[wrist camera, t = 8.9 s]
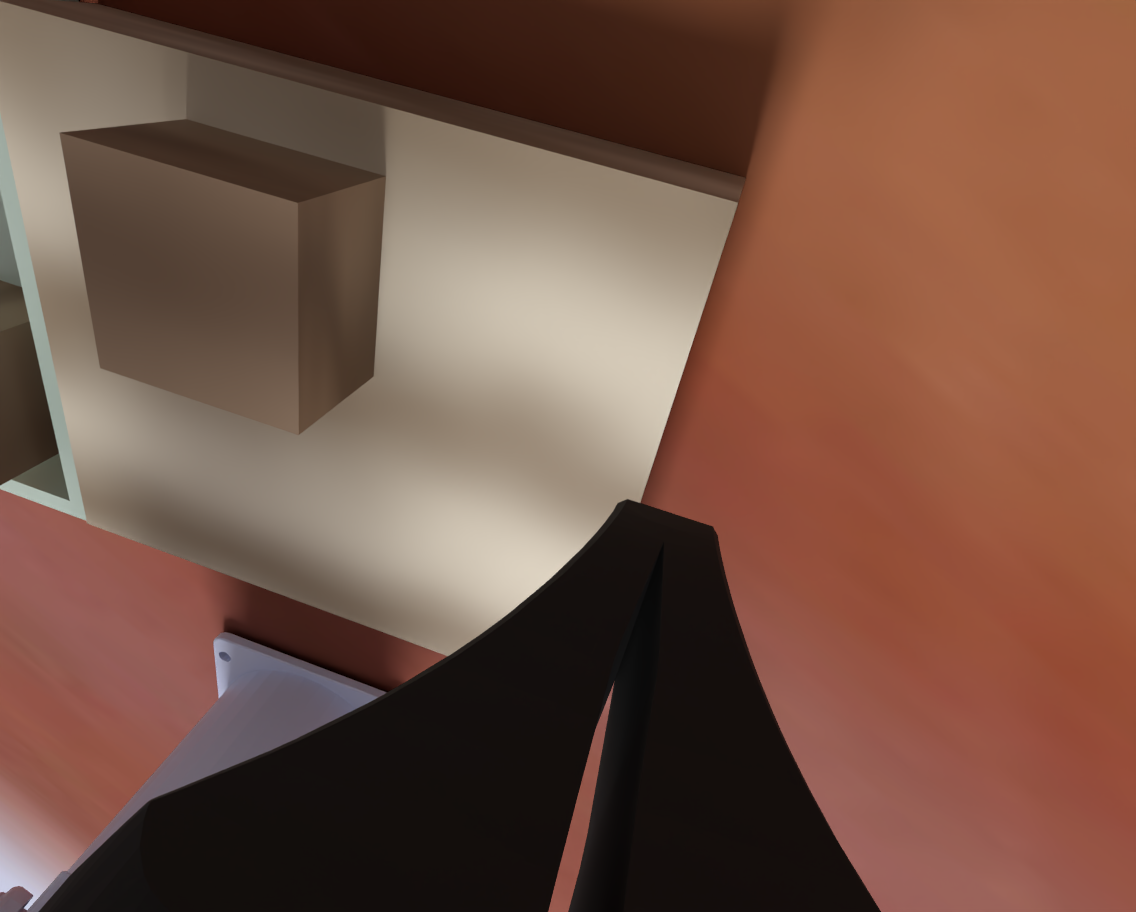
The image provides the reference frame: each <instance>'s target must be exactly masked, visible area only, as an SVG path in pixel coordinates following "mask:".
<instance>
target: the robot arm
mask: <svg viewBox="0 0 1136 912" xmlns="http://www.w3.org/2000/svg"><path fill="white" fill-rule="evenodd" d="M213 644H214V654H215V664H216V674H217V684H218V694H219V699H218V700H217V701H216V702H215V704H214V705H213V706H212V707H211V708H210V709H209V710H208V712H207V713H206V714H205V715H204V716H203V717H202V718H201V720H200V721H199V722H198V723H197V724H196V725H195V726H194V728H193V729H192V730H191V731H190V732H189V733H188V734H187V735H186V737H185V738H184V739H183V740H182V741H181V742H180V743H179V745H178V746H177V747H176V748H175V749H174V750H173V751H172V753H171V754H170V755H169V756H168V757H167V758H166V759H165V761H164V762H163V763H162V764H161V765H160V766H159V767H158V768H157V770H156V771H155V772H154V773H153V774H152V775H151V776H150V778H149V779H148V780H147V781H146V782H145V783H144V784H143V786H142V787H141V788H140V789H139V790H138V791H137V792H136V794H135V795H134V796H133V797H132V798H131V799H130V800H129V801H128V803H127V804H126V805H125V806H124V807H123V808H122V809H121V811H120V812H119V813H118V814H117V815H116V816H115V817H114V819H113V820H112V821H111V822H110V823H109V824H108V825H107V827H106V828H105V829H104V830H103V831H102V832H101V833H100V835H99V836H98V837H97V838H96V839H95V840H94V841H93V842H92V844H91V845H90V846H89V847H88V848H87V849H86V850H85V852H84V853H83V854H82V855H81V856H80V857H79V858H78V860H77V861H76V862H75V863H74V864H73V865H72V866H71V868H70V869H69V870H68V871H64V872H63V871H62V872H61V873H60V874H59V875H58V876H57V878H56V879H55V880H54V881H53V882H52V883H51V884H50V886H49V887H48V888H47V889H46V890H45V891H44V892H43V893H42V895H41V896H40V897H39V898H38V899H37V900H36V901H35V902H34V904H33V905H32V906H31V907H30V908H29V909H28V910H25V909H24V907H25V906H26V905H27V903H28V902H29V901H30V900H31V899H32V897H33V895H32V894H31V893H30V892H28V891H27V890H26V889H24V888H23V887H20V886H17V887H13V888H12V889H10V890H9V891H8V892H7V893H4V892H1V893H0V912H548V910H549V906H550V902H551V898H552V894H553V890H554V886H555V882H556V878H557V874H558V870H559V866H560V862H561V858H562V855H563V851H564V847H565V843H566V839H567V835H568V831H569V827H570V824H571V820H572V816H573V812H574V808H575V804H576V800H577V796H578V793H579V789H580V785H581V781H582V777H583V773H584V770H585V766H586V762H587V758H588V755H589V751H590V747H591V743H592V739H593V736H594V732H595V729H596V726H597V724H598V721H599V719H600V716H601V714H602V711H603V709H604V706H605V704H606V701H607V698H608V696H609V693H610V691H611V688H612V686H613V683H614V688H613V693H612V699H611V704H610V710H609V715H608V721H607V727H606V732H605V738H604V744H603V749H602V755H601V761H600V766H599V772H598V778H597V783H596V789H595V795H594V800H593V806H592V812H591V817H590V823H589V829H588V834H587V839H586V843H585V848H584V852H583V857H582V862H581V866H580V870H579V874H578V878H577V881H576V885H575V889H574V893H573V896H572V900H571V904H570V908H569V911H568V912H881V911H880V909H879V908H878V906H877V905H876V903H875V901H874V900H873V898H872V896H871V895H870V893H869V892H868V890H867V888H866V887H865V885H864V883H863V882H862V880H861V879H860V877H859V875H858V874H857V872H856V870H855V869H854V867H853V865H852V864H851V862H850V861H849V859H848V857H847V856H846V854H845V852H844V851H843V849H842V848H841V846H840V844H839V843H838V841H837V839H836V837H835V836H834V834H833V832H832V830H831V828H830V826H829V825H828V823H827V821H826V819H825V817H824V815H823V814H822V812H821V810H820V808H819V806H818V804H817V802H816V801H815V799H814V797H813V795H812V793H811V791H810V790H809V788H808V786H807V784H806V782H805V780H804V778H803V776H802V774H801V772H800V770H799V768H798V765H797V763H796V761H795V759H794V757H793V755H792V753H791V751H790V749H789V747H788V745H787V743H786V741H785V739H784V736H783V734H782V732H781V730H780V728H779V725H778V723H777V721H776V718H775V716H774V714H773V712H772V709H771V707H770V704H769V702H768V699H767V697H766V694H765V692H764V690H763V687H762V685H761V682H760V680H759V677H758V675H757V672H756V669H755V667H754V664H753V661H752V659H751V656H750V653H749V650H748V647H747V644H746V641H745V638H744V635H743V632H742V629H741V626H740V623H739V620H738V617H737V614H736V611H735V607H734V604H733V601H732V597H731V594H730V590H729V586H728V582H727V579H726V575H725V571H724V566H723V562H722V557H721V552H720V547H719V541H718V536H717V534H716V532H715V530H714V528H713V527H712V526H709V525H706V524H703V523H700V522H697V521H694V520H691V519H688V518H685V517H682V516H678V515H675V514H672V513H669V512H666V511H663V510H660V509H657V508H654V507H651V506H648V505H645V504H642V503H638V502H635V501H632V500H629V499H626V500H624V501H621V502H619V503H617V505H616V507H615V509H614V510H613V512H612V513H611V515H610V516H609V517H608V519H607V520H606V521H605V523H604V524H603V525H602V526H601V528H600V529H599V530H598V531H597V532H596V533H595V534H594V536H593V537H592V538H591V539H590V540H589V541H588V542H587V543H586V544H585V545H584V547H583V548H582V549H581V550H580V551H579V552H577V553H576V554H575V555H574V556H573V557H572V558H571V559H570V560H569V561H568V562H567V563H566V564H565V565H564V566H563V567H562V568H561V569H560V570H559V571H558V572H557V573H556V574H555V575H554V576H553V577H551V578H550V579H549V580H548V581H547V582H546V583H545V584H544V585H542V586H541V587H540V588H539V589H538V590H536V591H535V592H534V593H533V594H531V595H530V596H529V597H528V598H527V599H525V600H524V601H523V602H522V603H521V604H519V605H518V606H517V607H516V608H515V609H513V610H512V611H511V612H510V613H508V614H507V615H506V616H505V617H503V618H502V619H501V620H499V621H498V622H497V623H495V624H494V625H493V626H491V627H490V628H488V629H487V630H486V631H484V632H483V633H482V634H480V635H479V636H477V637H476V638H474V639H473V640H471V641H470V642H468V643H467V644H466V645H464V646H463V647H461V648H460V649H458V650H457V651H455V652H454V653H452V654H451V655H449V656H448V657H446V658H444V659H443V660H441V661H439V662H438V663H436V664H435V665H433V666H431V667H430V668H428V669H426V670H425V671H423V672H421V673H420V674H418V675H416V676H415V677H413V678H412V679H410V680H408V681H407V682H405V683H403V684H401V685H400V686H398V687H396V688H394V689H393V690H391V691H389V692H384V691H382V690H379V689H376V688H374V687H371V686H368V685H366V684H363V683H361V682H358V681H355V680H353V679H350V678H347V677H345V676H342V675H339V674H337V673H334V672H331V671H329V670H326V669H324V668H321V667H318V666H316V665H313V664H310V663H308V662H305V661H302V660H300V659H297V658H295V657H292V656H289V655H287V654H284V653H281V652H279V651H276V650H273V649H271V648H268V647H265V646H263V645H260V644H258V643H255V642H252V641H250V640H247V639H244V638H242V637H239V636H236V635H234V634H231V633H227V632H222V633H220V634H219V635H218V636H217V637H216V638H215V639H214V642H213ZM614 681H615V682H614Z"/></svg>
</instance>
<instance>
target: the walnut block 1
mask: <svg viewBox="0 0 1136 912" xmlns="http://www.w3.org/2000/svg"><path fill="white" fill-rule="evenodd" d="M57 454H59V450H58V446H57V441H56V437H55V433H54V428H53V424H52V419H51V415H50V410H49V406H48V401H47V397H46V392H45V388H44V383H43V379H42V374H41V370H40V366H39V361H38V357H37V352H36V348H35V343H34V339H33V334H32V330H31V325H30V321H29V316H28V312H27V308H26V303H25V299H24V294H23V290H22V287H19V286H16V285H13V284H10V283H7V282H4V281H1V280H0V485H2V484H4V483H6V482H8V481H10V480H11V479H13V478H15V477H17V476H19V475H20V474H22V473H24V472H26V471H28V470H30V469H31V468H33V467H35V466H37V465H39V464H40V463H42V462H44V461H46V460H48V459H50V458H51V457H53V456H55V455H57Z"/></svg>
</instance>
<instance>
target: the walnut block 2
mask: <svg viewBox="0 0 1136 912" xmlns="http://www.w3.org/2000/svg"><path fill="white" fill-rule="evenodd" d="M59 134H60V139H61V145H62V151H63V157H64V163H65V168H66V174H67V180H68V186H69V192H70V197H71V203H72V209H73V215H74V220H75V226H76V232H77V238H78V244H79V249H80V255H81V261H82V267H83V273H84V278H85V284H86V290H87V296H88V302H89V307H90V313H91V319H92V325H93V330H94V336H95V342H96V348H97V354H98V359H99V365H100V368H101V369H104V370H107V371H110V372H113V373H116V374H119V375H122V376H125V377H128V378H131V379H134V380H136V381H139V382H142V383H145V384H148V385H151V386H154V387H157V388H160V389H163V390H166V391H169V392H172V393H175V394H178V395H181V396H184V397H187V398H190V399H193V400H196V401H199V402H202V403H205V404H208V405H210V406H213V407H216V408H219V409H222V410H225V411H228V412H231V413H234V414H237V415H240V416H243V417H246V418H249V419H252V420H255V421H258V422H261V423H264V424H267V425H270V426H273V427H276V428H279V429H282V430H285V431H287V432H290V433H293V434H296V435H300V434H301V433H302V432H303V431H305V430H306V429H307V428H309V427H310V426H311V425H312V424H314V423H315V422H316V421H318V420H319V419H320V418H321V417H323V416H324V415H325V414H326V413H328V412H329V411H330V410H332V409H333V408H334V407H335V406H337V405H338V404H339V403H341V402H342V401H343V400H344V399H346V398H347V397H348V396H349V395H351V394H352V393H353V392H355V391H356V390H357V389H358V388H360V387H361V386H362V385H364V384H365V383H366V382H367V381H369V380H370V379H371V378H372V377H374V363H375V347H376V331H377V314H378V298H379V282H380V266H381V250H382V234H383V217H384V201H385V185H386V176H384V175H380V174H377V173H373V172H370V171H366V170H363V169H359V168H356V167H352V166H349V165H345V164H342V163H338V162H335V161H331V160H328V159H324V158H321V157H317V156H314V155H310V154H307V153H303V152H300V151H296V150H293V149H289V148H285V147H282V146H278V145H275V144H271V143H268V142H264V141H261V140H257V139H254V138H250V137H247V136H243V135H240V134H236V133H233V132H229V131H226V130H222V129H219V128H215V127H212V126H208V125H205V124H201V123H198V122H194V121H191V120H187V119H182V120H172V121H163V122H154V123H144V124H135V125H125V126H116V127H107V128H97V129H88V130H79V131H69V132H60V133H59Z"/></svg>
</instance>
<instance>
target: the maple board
mask: <svg viewBox="0 0 1136 912" xmlns="http://www.w3.org/2000/svg"><path fill="white" fill-rule="evenodd" d="M0 114H1V119H2V123H3V128H4V133H5V138H6V142H7V147H8V152H9V156H10V161H11V166H12V171H13V175H14V180H15V185H16V189H17V194H18V199H19V204H20V208H21V213H22V218H23V223H24V227H25V232H26V237H27V241H28V246H29V251H30V256H31V260H32V265H33V270H34V274H35V279H36V284H37V289H38V293H39V298H40V303H41V308H42V312H43V317H44V322H45V326H46V331H47V336H48V341H49V345H50V350H51V355H52V359H53V364H54V369H55V374H56V378H57V383H58V388H59V393H60V397H61V402H62V407H63V411H64V416H65V421H66V426H67V430H68V435H69V440H70V444H71V449H72V454H73V459H74V463H75V468H76V473H77V477H78V482H79V487H80V492H81V496H82V501H83V506H84V511H85V515H86V520H87V523H88V524H90V525H93V526H96V527H98V528H101V529H104V530H107V531H109V532H112V533H115V534H117V535H120V536H123V537H126V538H128V539H131V540H134V541H136V542H139V543H142V544H145V545H147V546H150V547H153V548H156V549H158V550H161V551H164V552H166V553H169V554H172V555H175V556H177V557H180V558H183V559H185V560H188V561H191V562H194V563H196V564H199V565H202V566H204V567H207V568H210V569H213V570H215V571H218V572H221V573H223V574H226V575H229V576H232V577H234V578H237V579H240V580H242V581H245V582H248V583H251V584H253V585H256V586H259V587H261V588H264V589H267V590H270V591H272V592H275V593H278V594H280V595H283V596H286V597H289V598H291V599H294V600H297V601H299V602H302V603H305V604H308V605H310V606H313V607H316V608H318V609H321V610H324V611H327V612H329V613H332V614H335V615H337V616H340V617H343V618H346V619H348V620H351V621H354V622H357V623H359V624H362V625H365V626H367V627H370V628H373V629H376V630H378V631H381V632H384V633H386V634H389V635H392V636H395V637H397V638H400V639H403V640H405V641H408V642H411V643H414V644H416V645H419V646H422V647H424V648H427V649H430V650H433V651H435V652H438V653H441V654H443V655H446V656H449V655H451V654H452V653H454V652H455V651H457V650H458V649H460V648H461V647H463V646H464V645H466V644H467V643H468V642H470V641H471V640H473V639H474V638H476V637H477V636H479V635H480V634H482V633H483V632H484V631H486V630H487V629H488V628H490V627H491V626H493V625H494V624H495V623H497V622H498V621H499V620H501V619H502V618H503V617H505V616H506V615H507V614H508V613H510V612H511V611H512V610H513V609H515V608H516V607H517V606H518V605H519V604H521V603H522V602H523V601H524V600H525V599H527V598H528V597H529V596H530V595H531V594H533V593H534V592H535V591H536V590H538V589H539V588H540V587H541V586H542V585H544V584H545V583H546V582H547V581H548V580H549V579H550V578H551V577H553V576H554V575H555V574H556V573H557V572H558V571H559V570H560V569H561V568H562V567H563V566H564V565H565V564H566V563H567V562H568V561H569V560H570V559H571V558H572V557H573V556H574V555H575V554H576V553H577V552H579V551H580V550H581V549H582V548H583V547H584V545H585V544H586V543H587V542H588V541H589V540H590V539H591V538H592V537H593V536H594V534H595V533H596V532H597V531H598V530H599V529H600V528H601V526H602V525H603V524H604V523H605V521H606V520H607V519H608V517H609V516H610V515H611V513H612V512H613V510H614V509H615V507H616V505H617V503H619V502H621V501H624V500H626V499H629V500H632V501H635V502H638V503H640V502H641V499H642V496H643V492H644V489H645V486H646V483H647V480H648V477H649V474H650V471H651V468H652V465H653V462H654V459H655V456H656V453H657V450H658V447H659V444H660V440H661V437H662V434H663V431H664V428H665V425H666V422H667V419H668V416H669V413H670V410H671V407H672V404H673V401H674V398H675V395H676V392H677V389H678V385H679V382H680V379H681V376H682V373H683V370H684V367H685V364H686V361H687V358H688V355H689V352H690V349H691V346H692V343H693V340H694V337H695V333H696V330H697V327H698V324H699V321H700V318H701V315H702V312H703V309H704V306H705V303H706V300H707V297H708V294H709V291H710V288H711V285H712V281H713V278H714V275H715V272H716V269H717V266H718V263H719V260H720V257H721V254H722V251H723V248H724V245H725V242H726V239H727V236H728V233H729V229H730V226H731V223H732V220H733V217H734V214H735V211H736V208H737V205H738V202H739V199H740V195H741V192H742V189H743V186H744V183H745V179H746V178H745V177H741V176H737V175H733V174H730V173H726V172H722V171H719V170H715V169H711V168H707V167H704V166H700V165H696V164H692V163H689V162H685V161H681V160H678V159H674V158H670V157H666V156H663V155H659V154H655V153H651V152H648V151H644V150H640V149H637V148H633V147H629V146H625V145H622V144H618V143H614V142H610V141H607V140H603V139H599V138H596V137H592V136H588V135H584V134H581V133H577V132H573V131H570V130H566V129H562V128H558V127H555V126H551V125H547V124H543V123H540V122H536V121H532V120H529V119H525V118H521V117H517V116H514V115H510V114H506V113H502V112H499V111H495V110H491V109H488V108H484V107H480V106H476V105H473V104H469V103H465V102H462V101H458V100H454V99H450V98H447V97H443V96H439V95H435V94H432V93H428V92H424V91H421V90H417V89H413V88H409V87H406V86H402V85H398V84H394V83H391V82H387V81H383V80H380V79H376V78H372V77H368V76H365V75H361V74H357V73H354V72H350V71H346V70H342V69H339V68H335V67H331V66H327V65H324V64H320V63H316V62H313V61H309V60H305V59H301V58H298V57H294V56H290V55H286V54H283V53H279V52H275V51H272V50H268V49H264V48H260V47H257V46H253V45H249V44H246V43H242V42H238V41H234V40H231V39H227V38H223V37H219V36H216V35H212V34H208V33H205V32H201V31H197V30H193V29H190V28H186V27H182V26H178V25H175V24H171V23H167V22H164V21H160V20H156V19H152V18H149V17H145V16H141V15H138V14H134V13H130V12H126V11H123V10H119V9H115V8H111V7H108V6H104V5H100V4H97V3H84V2H71V1H57V0H0ZM182 119H187V120H191V121H194V122H198V123H201V124H205V125H208V126H212V127H215V128H219V129H222V130H226V131H229V132H233V133H236V134H240V135H243V136H247V137H250V138H254V139H257V140H261V141H264V142H268V143H271V144H275V145H278V146H282V147H285V148H289V149H293V150H296V151H300V152H303V153H307V154H310V155H314V156H317V157H321V158H324V159H328V160H331V161H335V162H338V163H342V164H345V165H349V166H352V167H356V168H359V169H363V170H366V171H370V172H373V173H377V174H380V175H384V176H386V185H385V201H384V217H383V234H382V250H381V266H380V282H379V298H378V314H377V331H376V347H375V363H374V377H372V378H371V379H370V380H369V381H367V382H366V383H365V384H364V385H362V386H361V387H360V388H358V389H357V390H356V391H355V392H353V393H352V394H351V395H349V396H348V397H347V398H346V399H344V400H343V401H342V402H341V403H339V404H338V405H337V406H335V407H334V408H333V409H332V410H330V411H329V412H328V413H326V414H325V415H324V416H323V417H321V418H320V419H319V420H318V421H316V422H315V423H314V424H312V425H311V426H310V427H309V428H307V429H306V430H305V431H303V432H302V433H301V434H300V435H296V434H293V433H290V432H287V431H285V430H282V429H279V428H276V427H273V426H270V425H267V424H264V423H261V422H258V421H255V420H252V419H249V418H246V417H243V416H240V415H237V414H234V413H231V412H228V411H225V410H222V409H219V408H216V407H213V406H210V405H208V404H205V403H202V402H199V401H196V400H193V399H190V398H187V397H184V396H181V395H178V394H175V393H172V392H169V391H166V390H163V389H160V388H157V387H154V386H151V385H148V384H145V383H142V382H139V381H136V380H134V379H131V378H128V377H125V376H122V375H119V374H116V373H113V372H110V371H107V370H104V369H101V368H100V365H99V359H98V354H97V348H96V342H95V336H94V330H93V325H92V319H91V313H90V307H89V302H88V296H87V290H86V284H85V278H84V273H83V267H82V261H81V255H80V249H79V244H78V238H77V232H76V226H75V220H74V215H73V209H72V203H71V197H70V192H69V186H68V180H67V174H66V168H65V163H64V157H63V151H62V145H61V139H60V134H59V133H60V132H69V131H79V130H88V129H97V128H107V127H116V126H125V125H135V124H144V123H154V122H163V121H172V120H182Z"/></svg>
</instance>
